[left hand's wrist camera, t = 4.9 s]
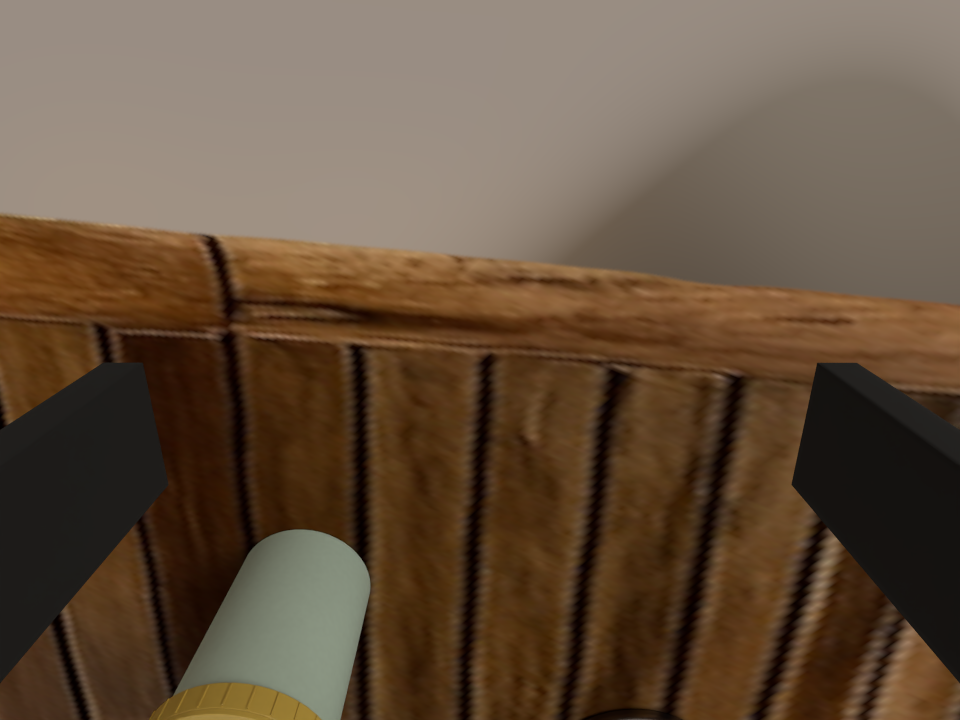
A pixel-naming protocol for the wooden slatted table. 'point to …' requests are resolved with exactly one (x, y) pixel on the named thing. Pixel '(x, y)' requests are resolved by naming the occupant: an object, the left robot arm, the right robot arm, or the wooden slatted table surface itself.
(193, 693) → the lid
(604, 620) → the wooden slatted table surface
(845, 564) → the wooden slatted table surface
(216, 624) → the jar
